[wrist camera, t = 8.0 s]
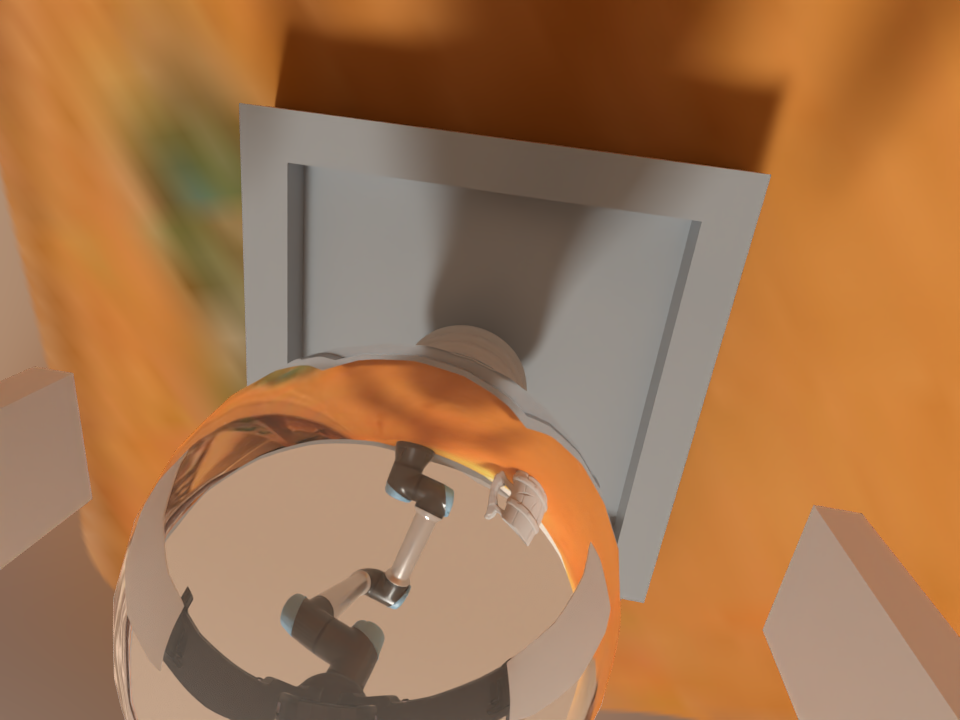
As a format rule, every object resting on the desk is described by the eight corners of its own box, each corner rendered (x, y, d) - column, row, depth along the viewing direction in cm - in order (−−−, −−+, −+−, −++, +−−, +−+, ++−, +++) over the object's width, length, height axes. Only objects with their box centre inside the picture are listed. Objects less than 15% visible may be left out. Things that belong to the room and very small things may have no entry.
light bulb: (507, 511, 18) (414, 1103, 7) (315, 393, 18) (-116, 835, 6) (648, 336, 16) (847, 844, 4) (426, 192, 15) (23, 358, 4)
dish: (274, 106, 15) (239, 103, 14) (747, 170, 15) (770, 174, 13) (277, 494, 20) (251, 526, 18) (636, 562, 19) (643, 603, 17)
